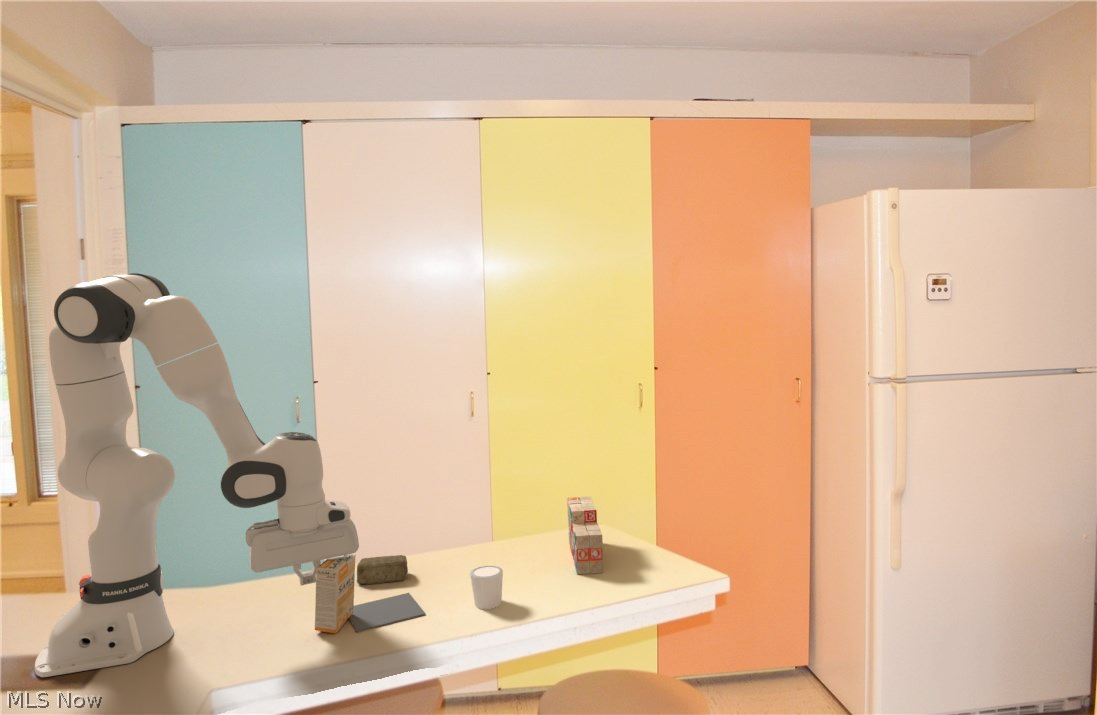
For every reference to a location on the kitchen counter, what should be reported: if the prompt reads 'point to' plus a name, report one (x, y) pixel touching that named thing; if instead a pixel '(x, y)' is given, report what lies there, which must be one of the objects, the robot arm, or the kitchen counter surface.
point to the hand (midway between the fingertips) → (307, 583)
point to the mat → (385, 612)
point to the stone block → (382, 569)
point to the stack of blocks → (584, 535)
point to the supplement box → (334, 592)
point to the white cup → (487, 586)
